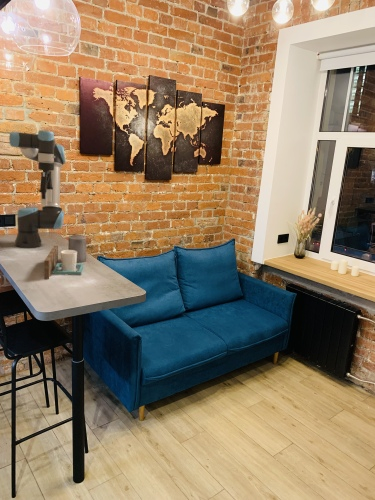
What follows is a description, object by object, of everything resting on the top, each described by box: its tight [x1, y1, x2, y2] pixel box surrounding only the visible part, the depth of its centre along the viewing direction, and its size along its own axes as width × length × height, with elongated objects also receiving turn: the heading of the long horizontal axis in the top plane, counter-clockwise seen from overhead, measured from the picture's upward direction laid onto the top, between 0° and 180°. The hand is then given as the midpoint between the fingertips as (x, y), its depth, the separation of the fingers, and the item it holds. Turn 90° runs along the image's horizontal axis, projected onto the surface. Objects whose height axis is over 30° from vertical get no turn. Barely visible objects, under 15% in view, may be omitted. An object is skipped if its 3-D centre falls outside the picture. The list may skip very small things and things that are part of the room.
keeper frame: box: [52, 262, 84, 276], centre depth 191 cm, size 13×13×2 cm
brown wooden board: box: [43, 245, 59, 280], centre depth 188 cm, size 28×2×9 cm, turn 10°
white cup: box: [60, 249, 77, 271], centre depth 190 cm, size 8×8×10 cm
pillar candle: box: [67, 234, 87, 264], centre depth 207 cm, size 10×10×15 cm
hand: (46, 203), depth 195 cm, fingers open, 13 cm apart
